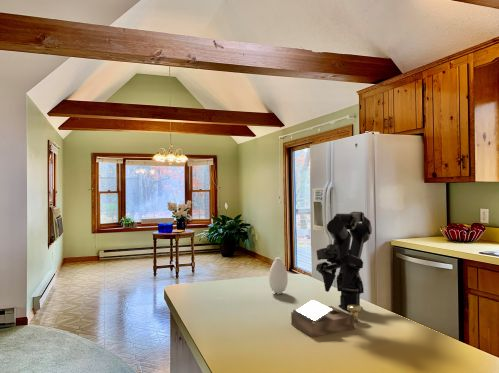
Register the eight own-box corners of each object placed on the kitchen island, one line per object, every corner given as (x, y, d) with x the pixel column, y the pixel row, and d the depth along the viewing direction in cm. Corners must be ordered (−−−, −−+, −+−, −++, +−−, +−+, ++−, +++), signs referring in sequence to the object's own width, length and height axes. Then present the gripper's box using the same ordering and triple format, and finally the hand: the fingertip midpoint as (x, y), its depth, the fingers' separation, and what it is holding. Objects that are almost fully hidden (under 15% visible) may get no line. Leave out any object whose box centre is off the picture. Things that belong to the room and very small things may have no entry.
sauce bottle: (266, 292, 164) (265, 251, 164) (281, 290, 167) (281, 249, 168) (274, 297, 157) (274, 253, 157) (291, 294, 160) (290, 252, 160)
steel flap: (313, 301, 127) (312, 300, 127) (332, 310, 117) (332, 309, 117) (296, 312, 125) (295, 310, 125) (315, 322, 115) (314, 320, 115)
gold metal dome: (355, 317, 130) (355, 303, 131) (364, 322, 126) (364, 307, 126) (344, 319, 129) (344, 305, 129) (353, 324, 124) (353, 309, 124)
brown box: (331, 317, 131) (331, 303, 131) (354, 328, 120) (354, 313, 120) (291, 324, 124) (291, 309, 124) (311, 337, 113) (311, 320, 114)
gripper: (307, 243, 138) (299, 285, 130) (339, 231, 122) (332, 278, 115) (332, 254, 141) (326, 295, 134) (366, 243, 125) (361, 290, 118)
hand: (335, 290), depth 125 cm, fingers open, 9 cm apart
